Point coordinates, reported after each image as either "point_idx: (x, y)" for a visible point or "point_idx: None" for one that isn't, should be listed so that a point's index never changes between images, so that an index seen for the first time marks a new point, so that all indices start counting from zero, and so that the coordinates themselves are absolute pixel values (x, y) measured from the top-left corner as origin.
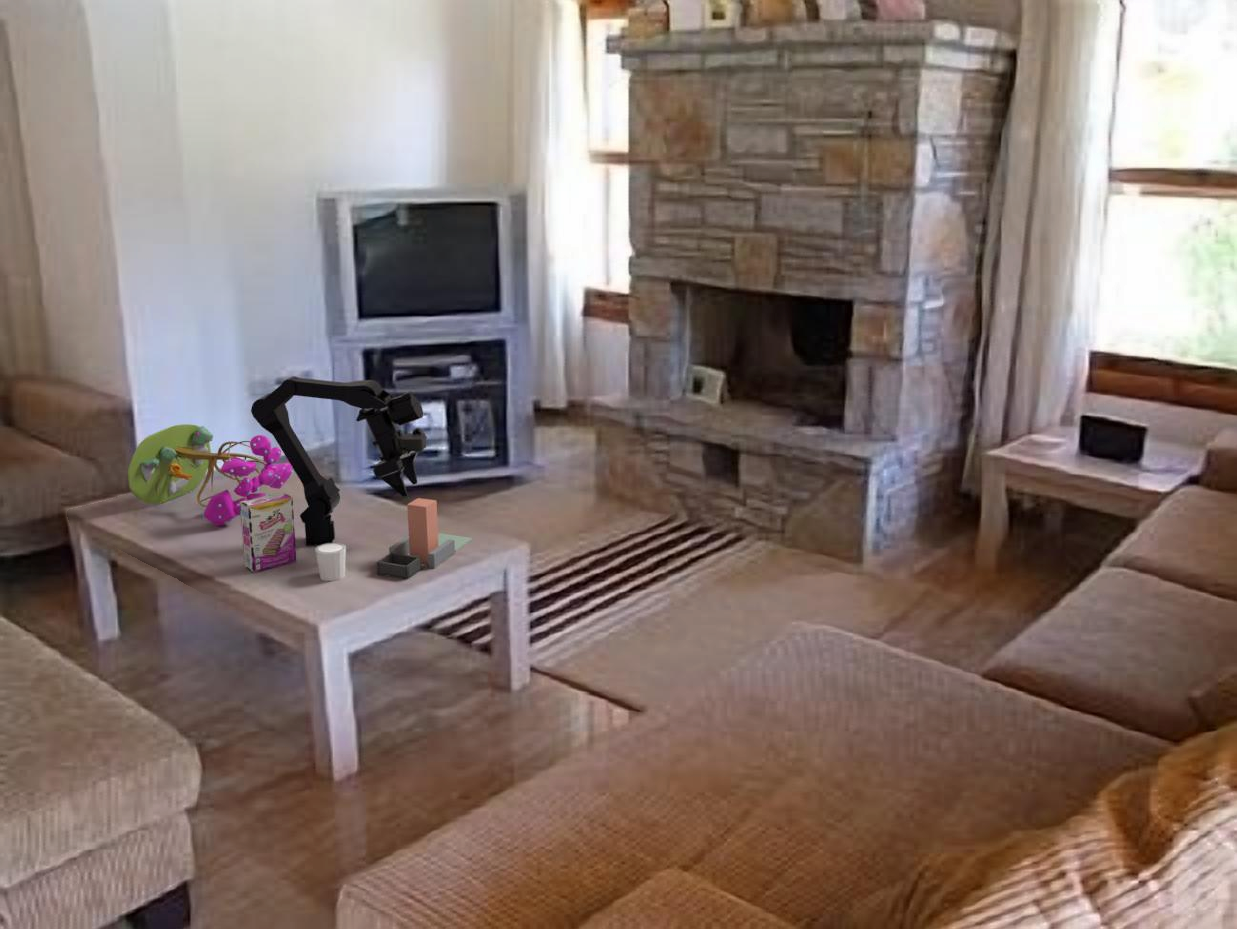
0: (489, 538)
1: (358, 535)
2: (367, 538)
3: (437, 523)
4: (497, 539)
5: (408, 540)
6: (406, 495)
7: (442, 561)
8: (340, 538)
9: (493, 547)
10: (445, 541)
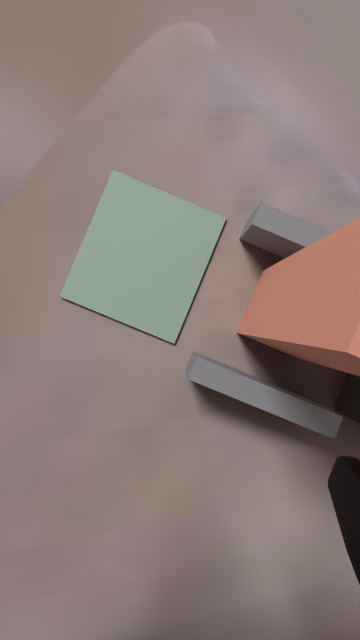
0: (108, 116)
1: (69, 566)
2: (99, 530)
3: (314, 242)
4: (119, 88)
5: (249, 378)
6: (354, 460)
7: None
8: (97, 622)
9: (193, 99)
10: (143, 260)
